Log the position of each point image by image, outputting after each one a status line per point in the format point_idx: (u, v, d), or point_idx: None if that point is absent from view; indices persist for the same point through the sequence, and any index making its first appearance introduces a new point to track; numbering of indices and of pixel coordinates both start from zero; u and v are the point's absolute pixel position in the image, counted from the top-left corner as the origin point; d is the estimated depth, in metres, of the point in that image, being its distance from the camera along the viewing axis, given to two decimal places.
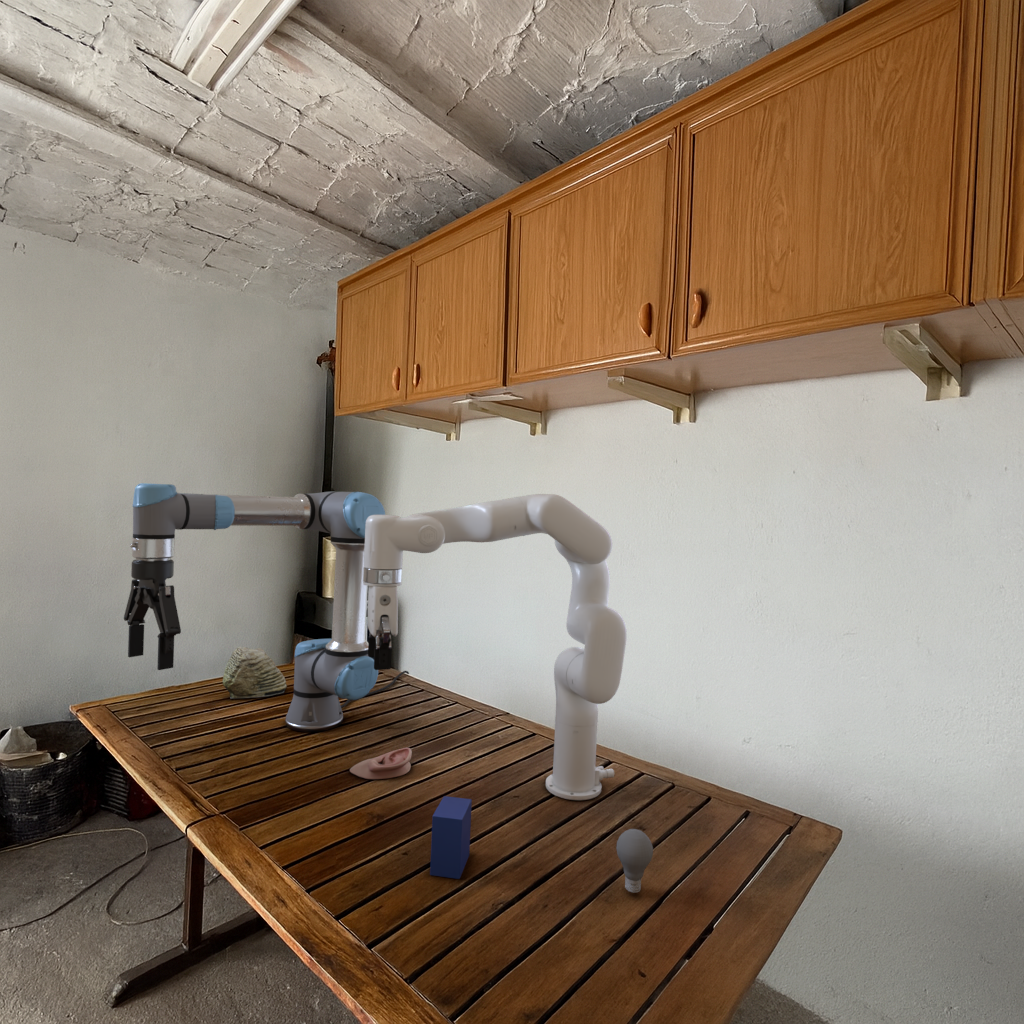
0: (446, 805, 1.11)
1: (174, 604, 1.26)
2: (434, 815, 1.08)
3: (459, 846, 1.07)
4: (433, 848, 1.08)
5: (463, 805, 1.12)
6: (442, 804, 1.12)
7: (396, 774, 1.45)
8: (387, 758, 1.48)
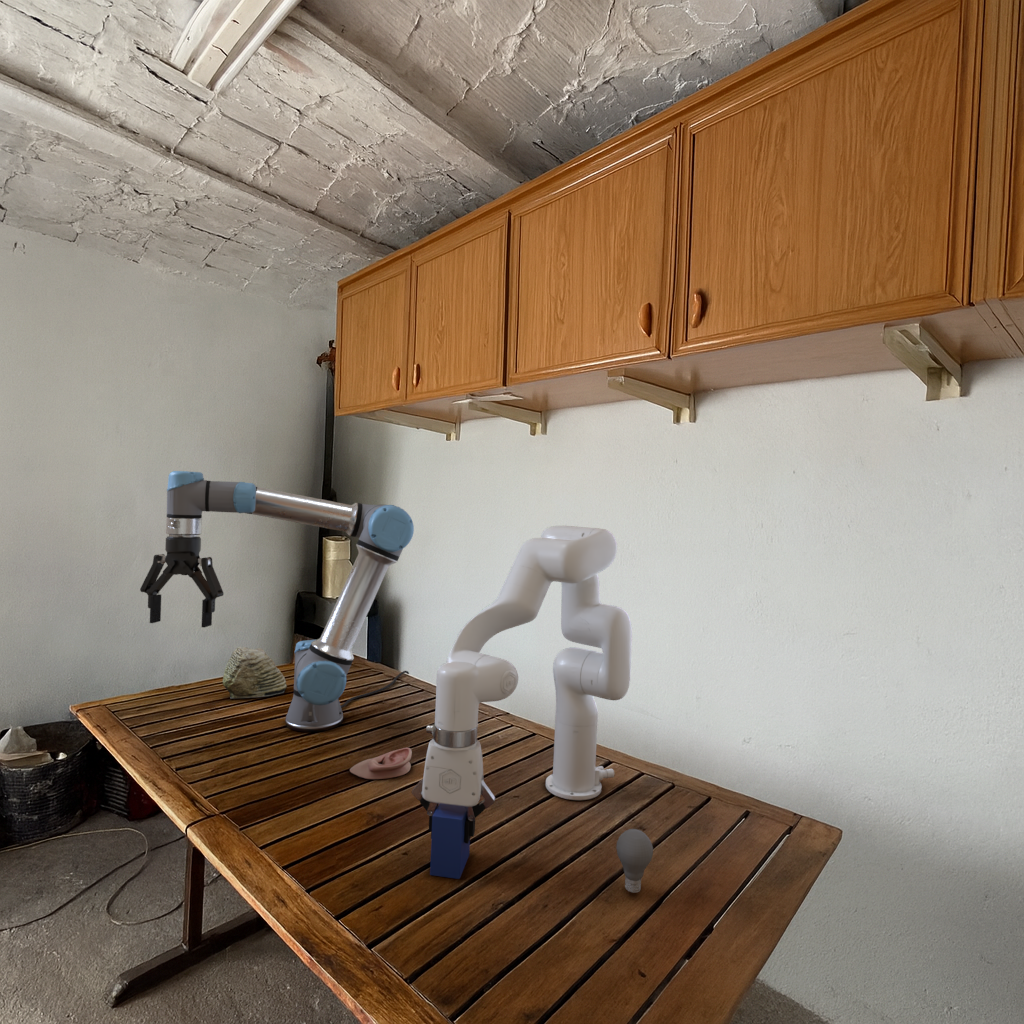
0: (446, 805, 1.11)
1: (214, 572, 1.51)
2: (434, 815, 1.08)
3: (459, 846, 1.07)
4: (433, 848, 1.08)
5: None
6: (442, 804, 1.12)
7: (396, 774, 1.45)
8: (387, 758, 1.48)
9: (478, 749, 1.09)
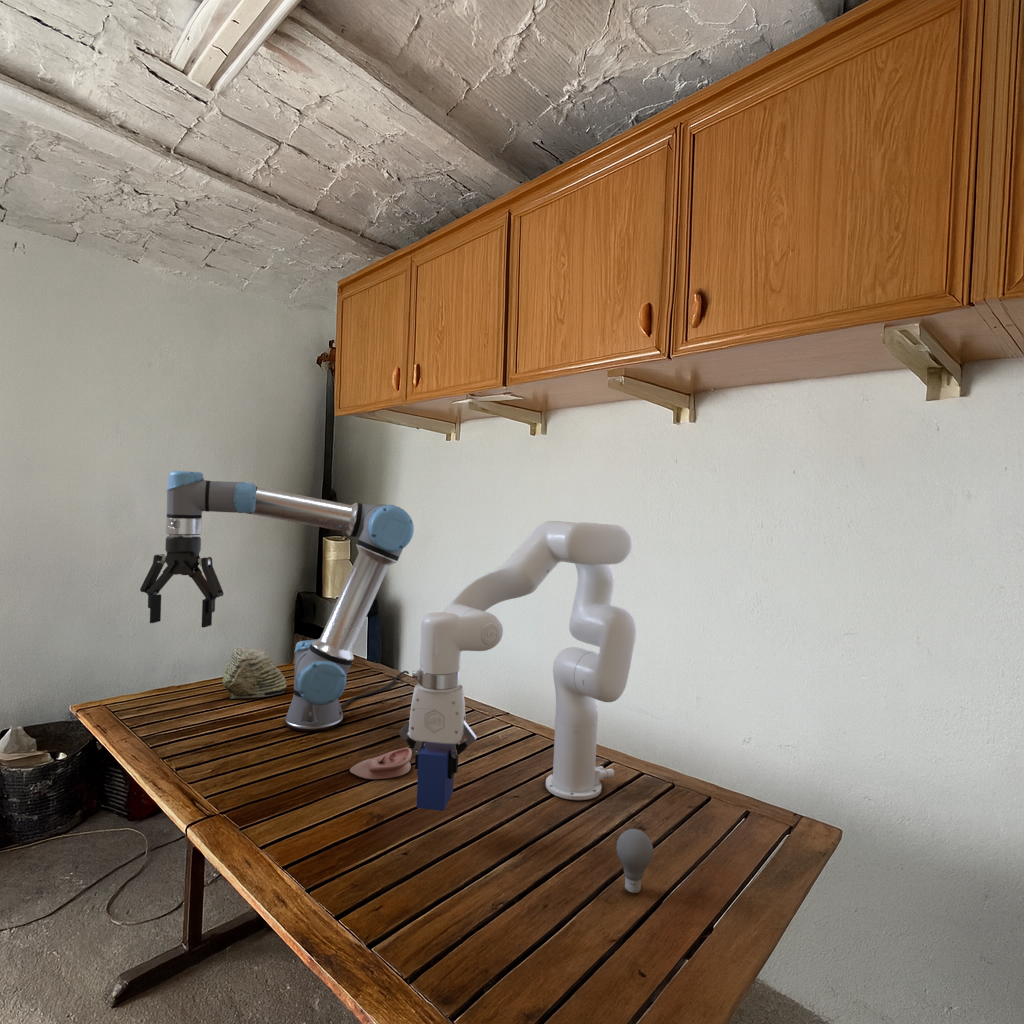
0: (431, 745, 1.20)
1: (214, 572, 1.51)
2: (420, 752, 1.16)
3: (443, 780, 1.16)
4: (419, 783, 1.16)
5: (447, 745, 1.20)
6: (427, 744, 1.20)
7: (396, 774, 1.45)
8: (387, 758, 1.48)
9: (460, 691, 1.17)
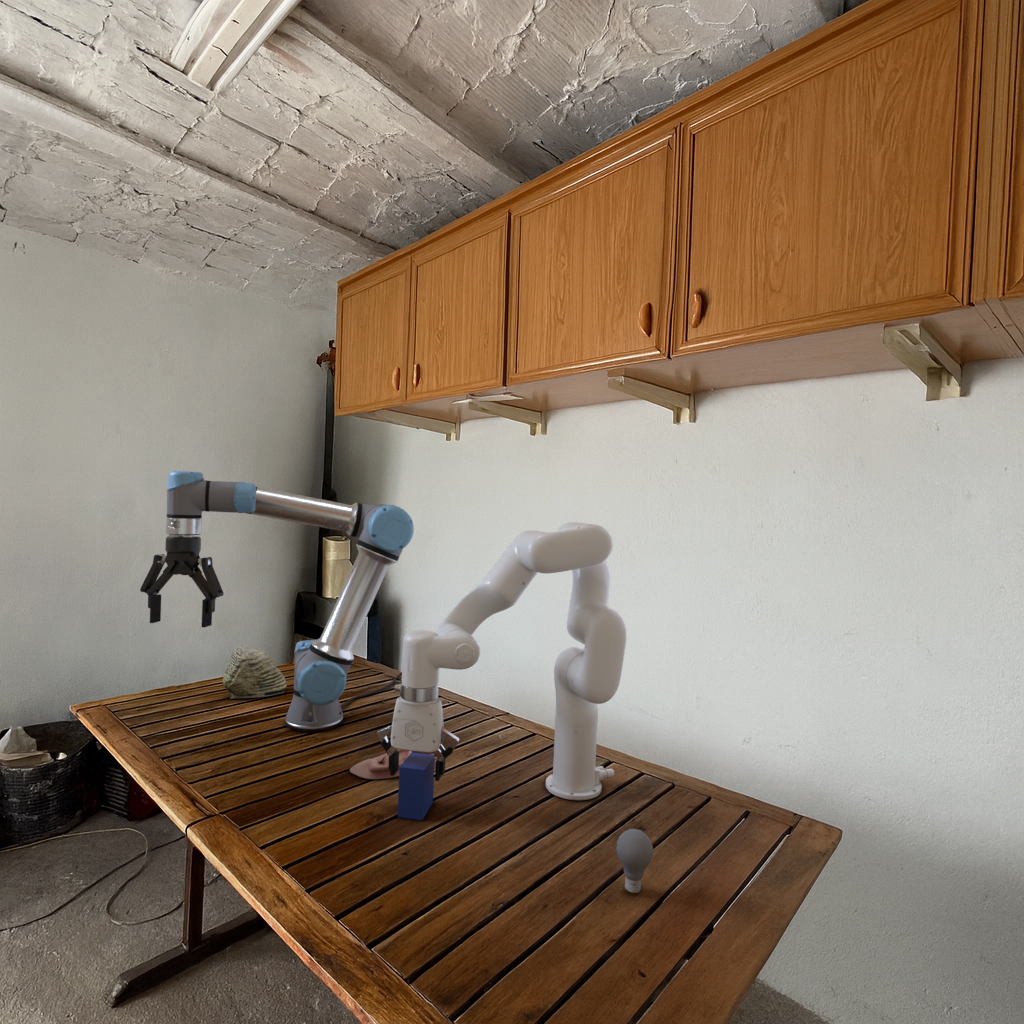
0: (412, 759, 1.30)
1: (214, 572, 1.51)
2: (401, 766, 1.27)
3: (422, 792, 1.26)
4: (400, 794, 1.27)
5: (427, 759, 1.31)
6: (408, 758, 1.31)
7: (396, 774, 1.45)
8: (387, 758, 1.48)
9: (438, 704, 1.28)
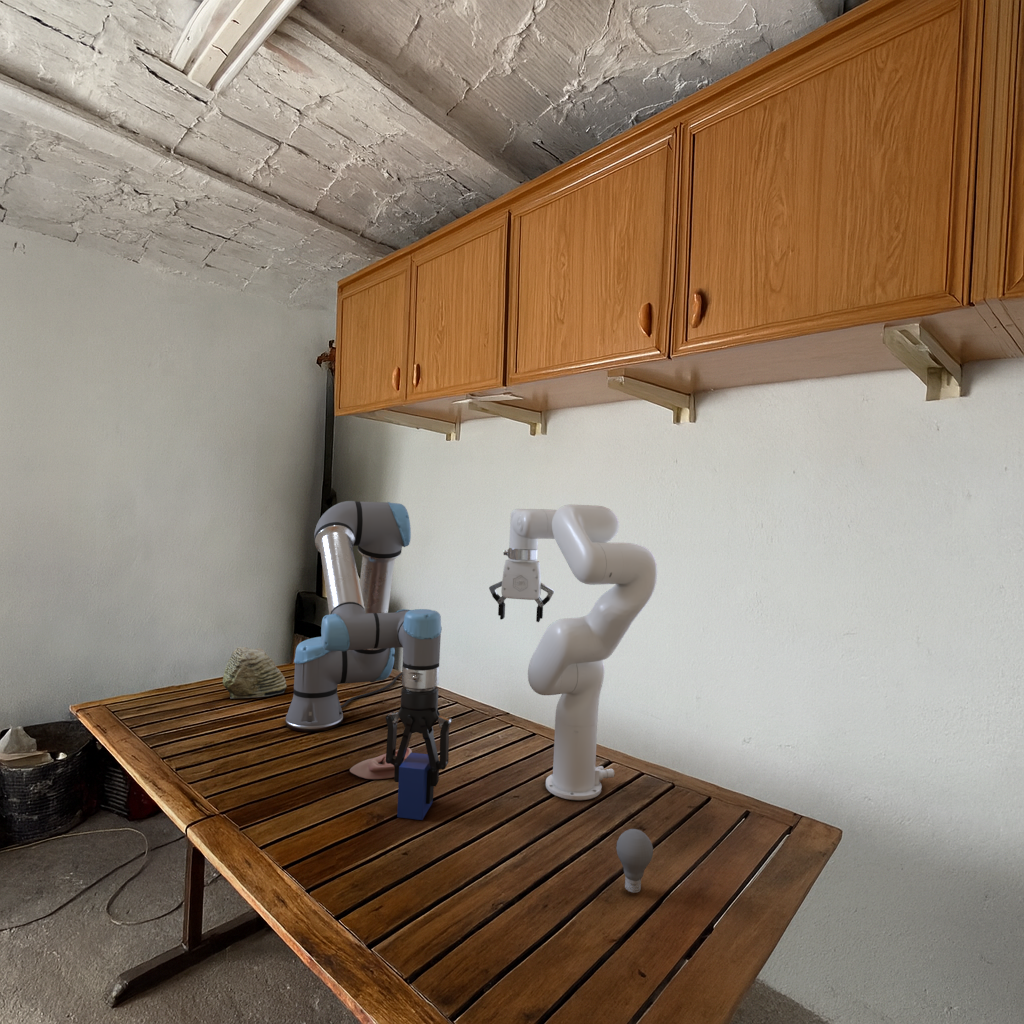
0: (411, 759, 1.30)
1: (448, 736, 1.30)
2: (400, 766, 1.27)
3: (421, 792, 1.26)
4: (400, 794, 1.27)
5: (426, 759, 1.31)
6: (408, 758, 1.31)
7: None
8: None
9: (538, 563, 1.66)
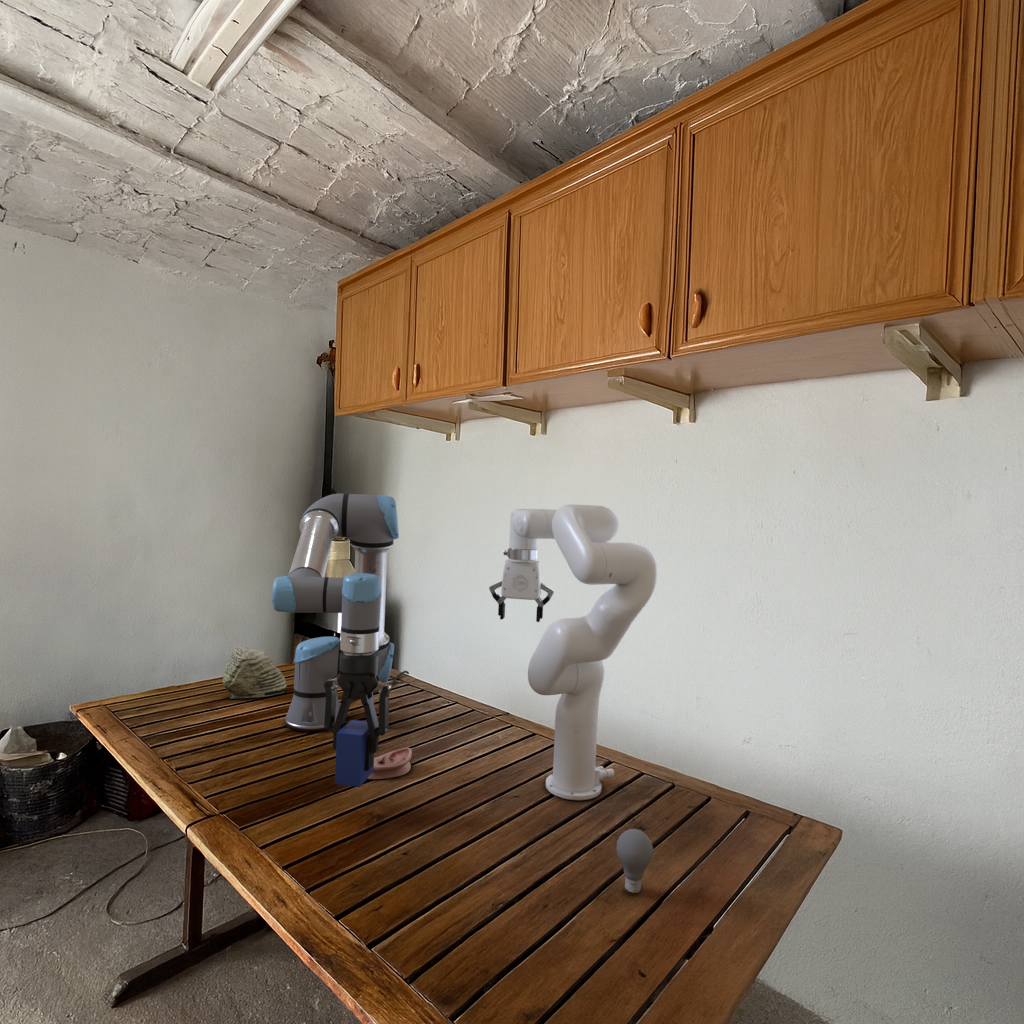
0: (351, 725, 1.28)
1: (388, 703, 1.27)
2: (338, 732, 1.24)
3: (359, 758, 1.23)
4: (337, 761, 1.24)
5: (366, 725, 1.28)
6: (347, 725, 1.28)
7: (396, 774, 1.45)
8: (387, 758, 1.48)
9: (538, 563, 1.66)
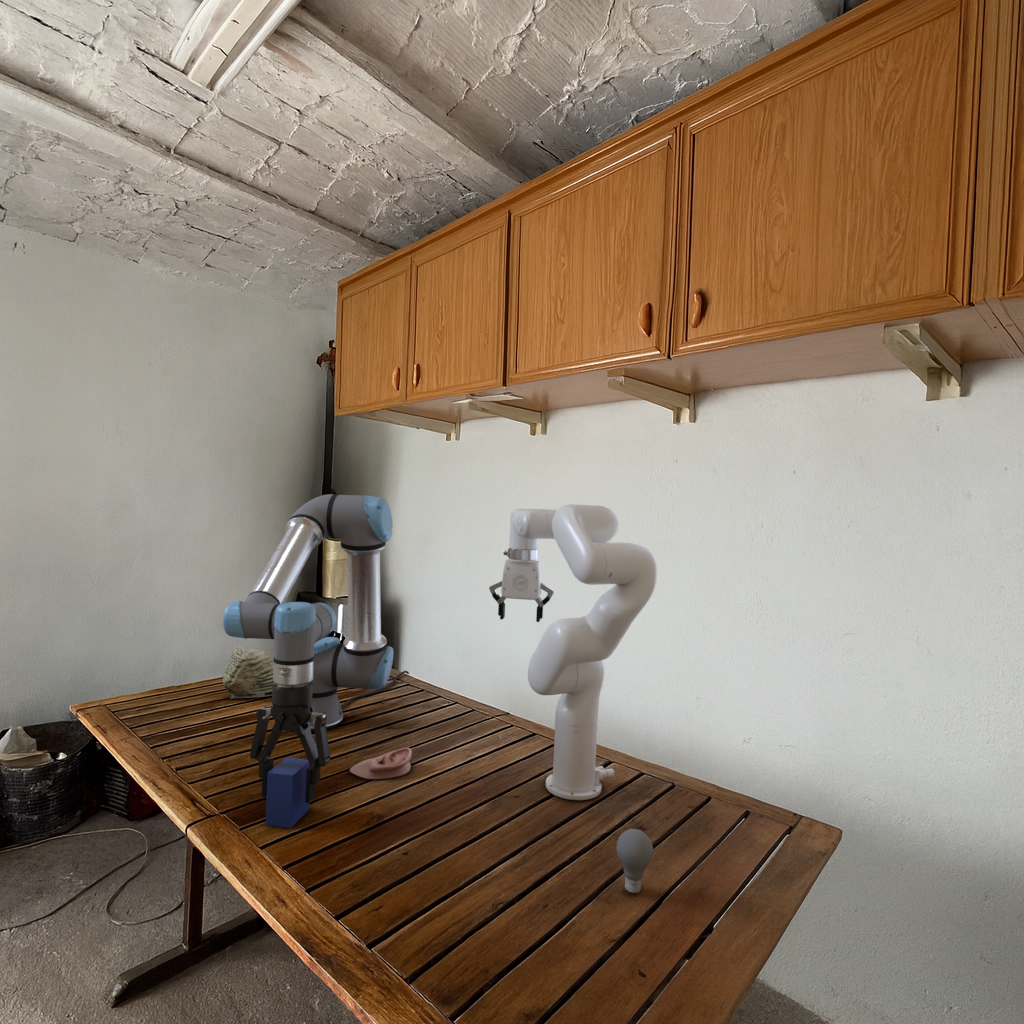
0: (284, 764, 1.25)
1: (326, 732, 1.24)
2: (269, 772, 1.22)
3: (290, 799, 1.21)
4: (268, 801, 1.21)
5: (300, 764, 1.26)
6: (281, 763, 1.26)
7: (396, 774, 1.45)
8: (387, 758, 1.48)
9: (538, 563, 1.66)
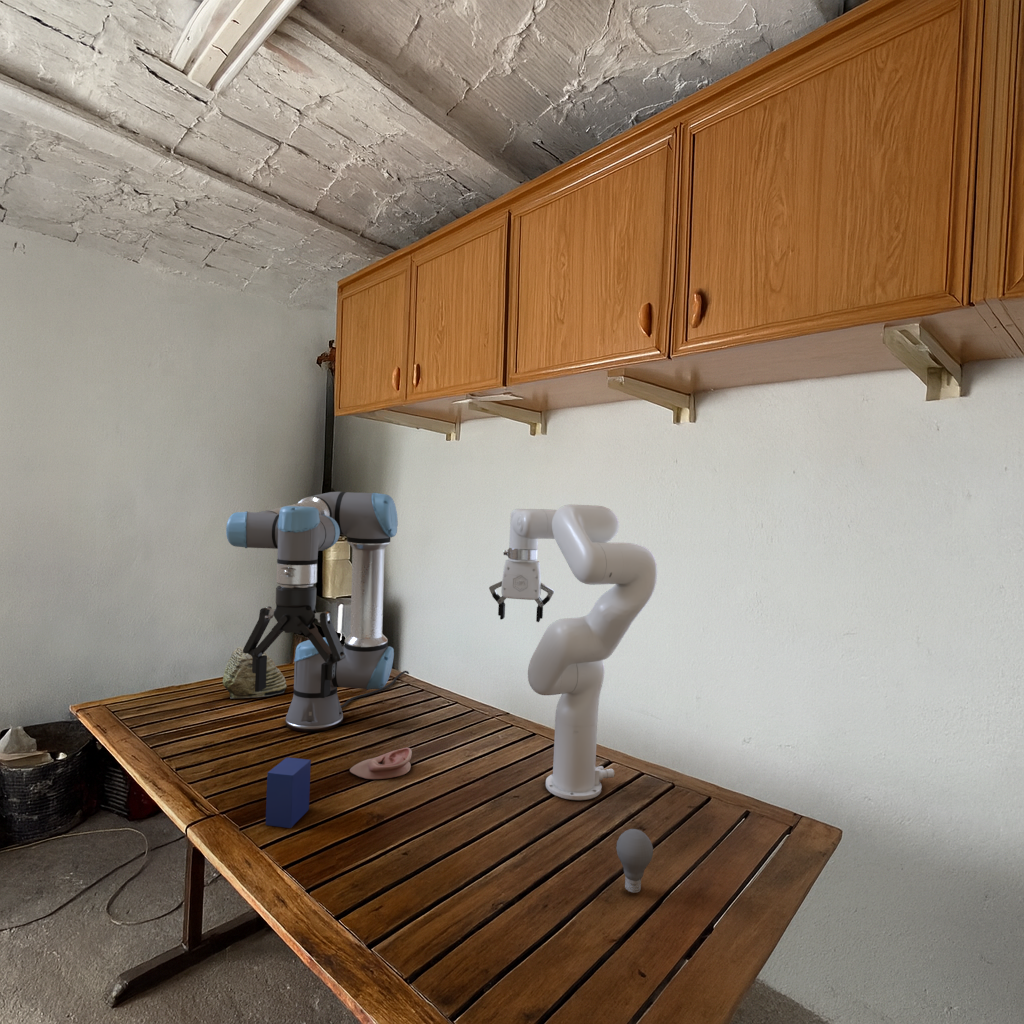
0: (284, 764, 1.25)
1: (334, 629, 1.24)
2: (269, 772, 1.22)
3: (290, 799, 1.21)
4: (268, 801, 1.21)
5: (300, 764, 1.26)
6: (281, 763, 1.26)
7: (396, 774, 1.45)
8: (387, 758, 1.48)
9: (538, 563, 1.66)
